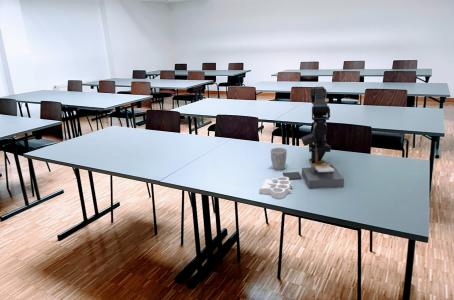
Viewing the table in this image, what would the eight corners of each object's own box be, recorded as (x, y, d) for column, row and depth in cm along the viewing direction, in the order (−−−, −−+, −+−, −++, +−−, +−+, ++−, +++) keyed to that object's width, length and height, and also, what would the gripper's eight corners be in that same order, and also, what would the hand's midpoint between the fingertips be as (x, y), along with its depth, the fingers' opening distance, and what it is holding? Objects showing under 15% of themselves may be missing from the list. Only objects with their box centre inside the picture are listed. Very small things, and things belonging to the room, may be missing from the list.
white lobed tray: (265, 181, 170) (295, 183, 166) (257, 197, 154) (290, 200, 150) (265, 175, 169) (295, 177, 165) (257, 190, 153) (290, 193, 149)
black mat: (282, 173, 177) (282, 172, 177) (298, 172, 177) (298, 171, 177) (285, 180, 169) (285, 178, 169) (301, 179, 169) (301, 178, 169)
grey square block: (301, 175, 174) (301, 160, 172) (333, 173, 174) (334, 158, 171) (308, 188, 159) (309, 172, 156) (343, 186, 159) (344, 171, 156)
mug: (277, 162, 193) (277, 145, 190) (291, 164, 188) (291, 147, 185) (268, 168, 184) (267, 151, 181) (282, 171, 180) (282, 153, 177)
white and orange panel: (311, 166, 172) (311, 163, 172) (325, 165, 172) (325, 162, 171) (318, 172, 157) (318, 169, 157) (334, 171, 157) (334, 168, 157)
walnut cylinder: (314, 161, 172) (315, 145, 169) (320, 161, 172) (321, 144, 169) (316, 164, 170) (316, 147, 166) (322, 163, 170) (323, 146, 166)
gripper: (298, 125, 174) (298, 154, 179) (307, 136, 156) (306, 167, 162) (320, 124, 174) (319, 153, 179) (331, 134, 156) (330, 166, 161)
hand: (318, 159), depth 170 cm, fingers closed on walnut cylinder, 3 cm apart
